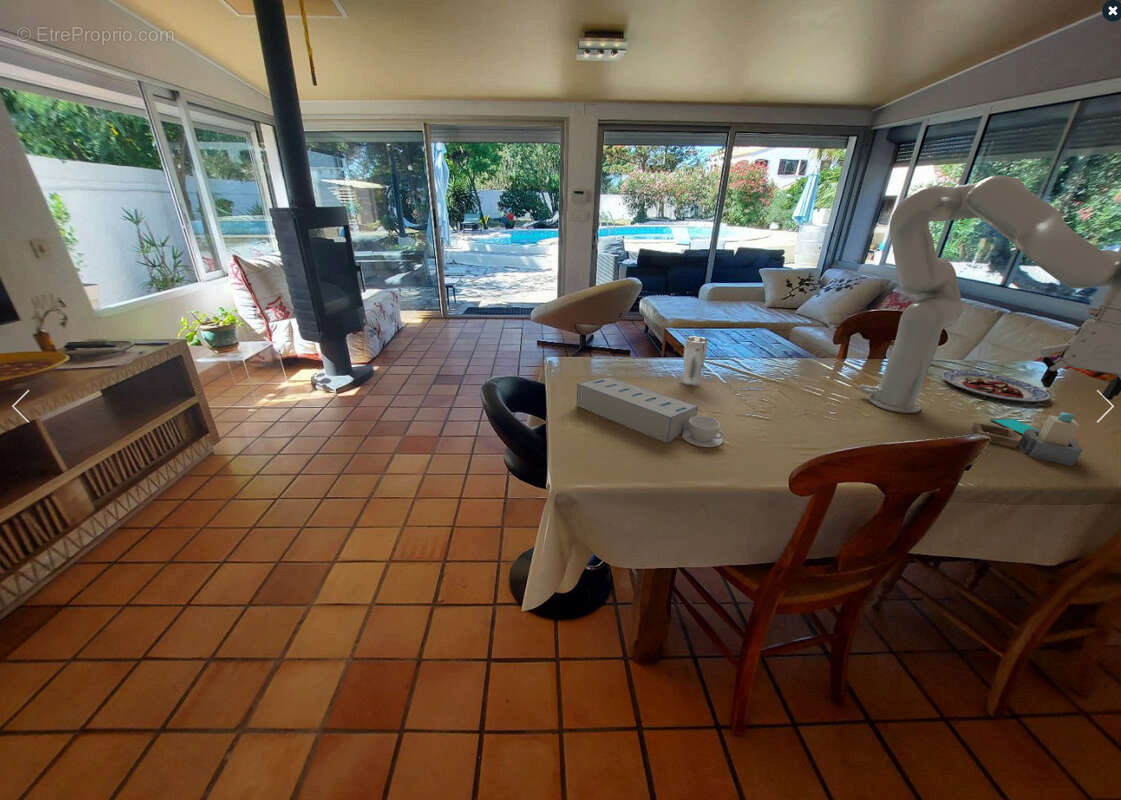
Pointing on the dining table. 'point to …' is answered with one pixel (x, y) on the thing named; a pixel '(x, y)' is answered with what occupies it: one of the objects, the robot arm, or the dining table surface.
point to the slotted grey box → (636, 407)
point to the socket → (1049, 449)
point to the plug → (1059, 429)
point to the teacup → (703, 432)
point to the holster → (996, 434)
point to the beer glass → (694, 360)
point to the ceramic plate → (995, 386)
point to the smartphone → (1013, 425)
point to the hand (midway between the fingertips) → (1075, 391)
